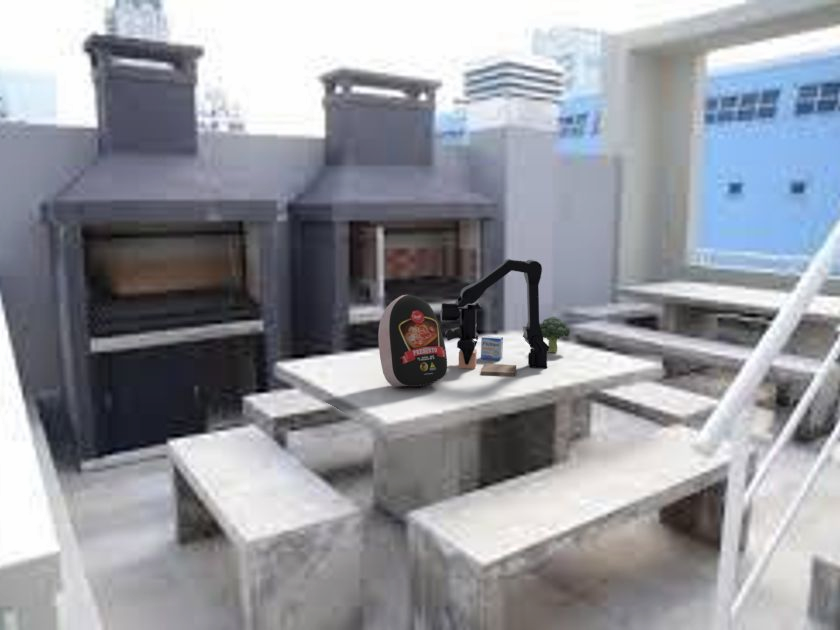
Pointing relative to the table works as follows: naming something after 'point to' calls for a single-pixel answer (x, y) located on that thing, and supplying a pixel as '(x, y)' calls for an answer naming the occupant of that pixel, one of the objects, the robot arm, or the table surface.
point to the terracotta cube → (471, 363)
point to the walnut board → (498, 369)
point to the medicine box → (491, 347)
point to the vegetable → (554, 331)
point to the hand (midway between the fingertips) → (467, 362)
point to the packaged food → (411, 343)
